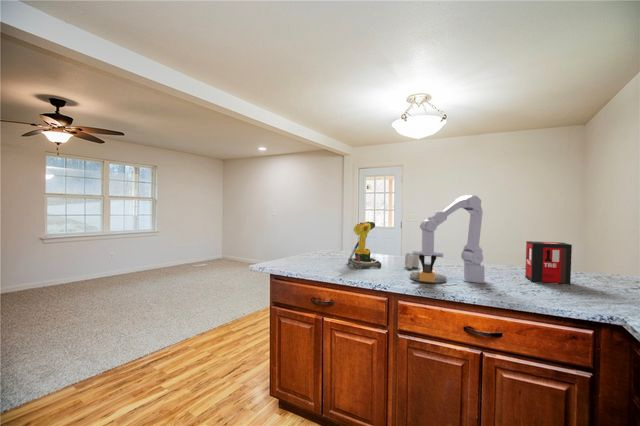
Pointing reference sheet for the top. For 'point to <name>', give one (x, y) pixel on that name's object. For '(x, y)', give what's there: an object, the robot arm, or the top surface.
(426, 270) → the wedge
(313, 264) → the top surface
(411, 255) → the grey rounded block
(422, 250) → the robot arm
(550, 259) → the cleaning product box
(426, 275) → the bracket
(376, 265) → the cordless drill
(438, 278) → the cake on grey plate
